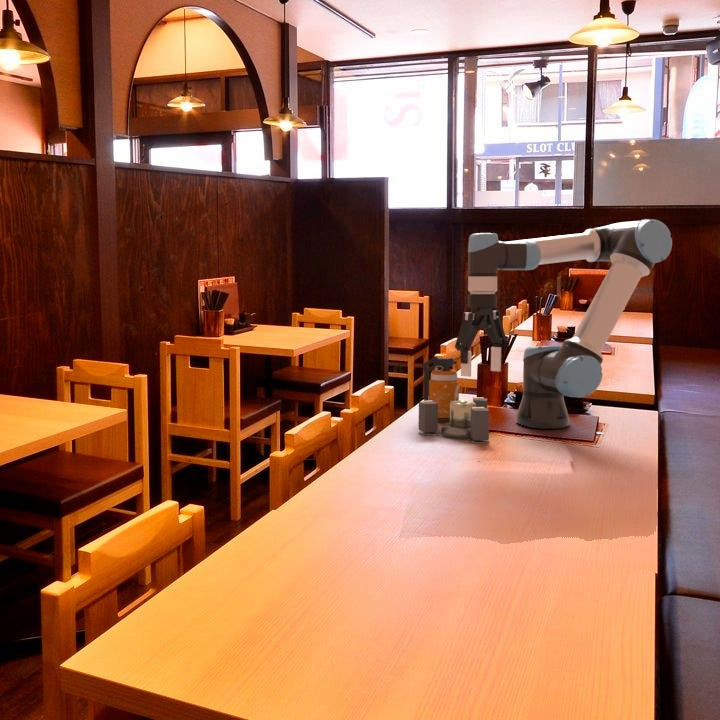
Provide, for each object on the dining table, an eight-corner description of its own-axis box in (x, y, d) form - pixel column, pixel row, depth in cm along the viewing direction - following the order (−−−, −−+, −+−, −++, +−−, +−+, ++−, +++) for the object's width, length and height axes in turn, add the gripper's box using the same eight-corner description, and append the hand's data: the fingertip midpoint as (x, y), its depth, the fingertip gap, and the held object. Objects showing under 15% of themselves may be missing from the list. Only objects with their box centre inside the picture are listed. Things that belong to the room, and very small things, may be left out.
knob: (486, 425, 224) (487, 396, 223) (486, 428, 220) (487, 398, 219) (472, 425, 224) (472, 396, 223) (472, 427, 220) (472, 398, 220)
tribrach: (488, 428, 224) (489, 395, 223) (489, 444, 203) (490, 408, 202) (421, 425, 227) (421, 393, 226) (415, 441, 206) (415, 406, 205)
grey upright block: (431, 428, 219) (431, 399, 218) (437, 431, 215) (438, 401, 214) (418, 429, 217) (418, 400, 216) (424, 432, 214) (424, 402, 213)
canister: (457, 426, 226) (458, 358, 224) (419, 425, 228) (420, 358, 226) (459, 421, 235) (460, 355, 233) (423, 419, 237) (424, 354, 235)
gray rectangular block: (484, 437, 208) (485, 405, 207) (488, 440, 204) (489, 408, 203) (470, 437, 208) (470, 406, 207) (473, 440, 204) (474, 408, 203)
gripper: (497, 291, 213) (495, 368, 216) (441, 293, 195) (440, 377, 198) (520, 292, 208) (519, 370, 210) (465, 294, 190) (464, 379, 192)
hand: (481, 373), depth 204 cm, fingers open, 13 cm apart
